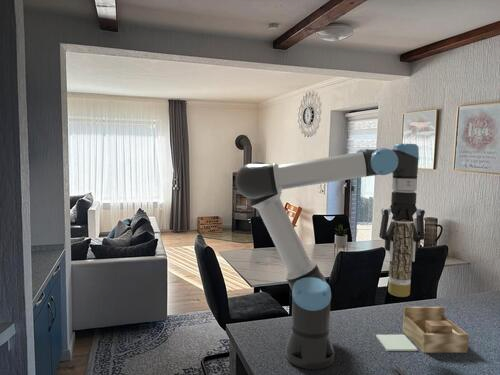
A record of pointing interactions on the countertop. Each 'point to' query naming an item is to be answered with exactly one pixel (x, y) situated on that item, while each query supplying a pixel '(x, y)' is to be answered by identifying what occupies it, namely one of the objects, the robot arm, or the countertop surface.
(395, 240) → the wooden log
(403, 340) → the felt mat
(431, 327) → the offcut stack
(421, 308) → the wooden open box
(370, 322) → the countertop surface
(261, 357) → the countertop surface
